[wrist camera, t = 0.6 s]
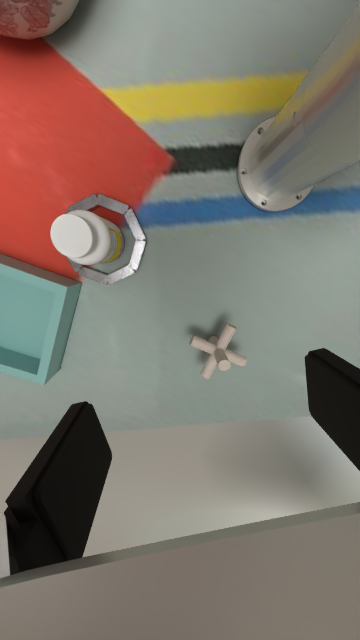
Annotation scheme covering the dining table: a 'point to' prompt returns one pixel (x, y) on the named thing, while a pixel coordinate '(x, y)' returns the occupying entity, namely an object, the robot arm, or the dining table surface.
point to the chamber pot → (33, 17)
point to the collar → (123, 209)
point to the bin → (34, 319)
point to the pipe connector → (218, 351)
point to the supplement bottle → (87, 238)
